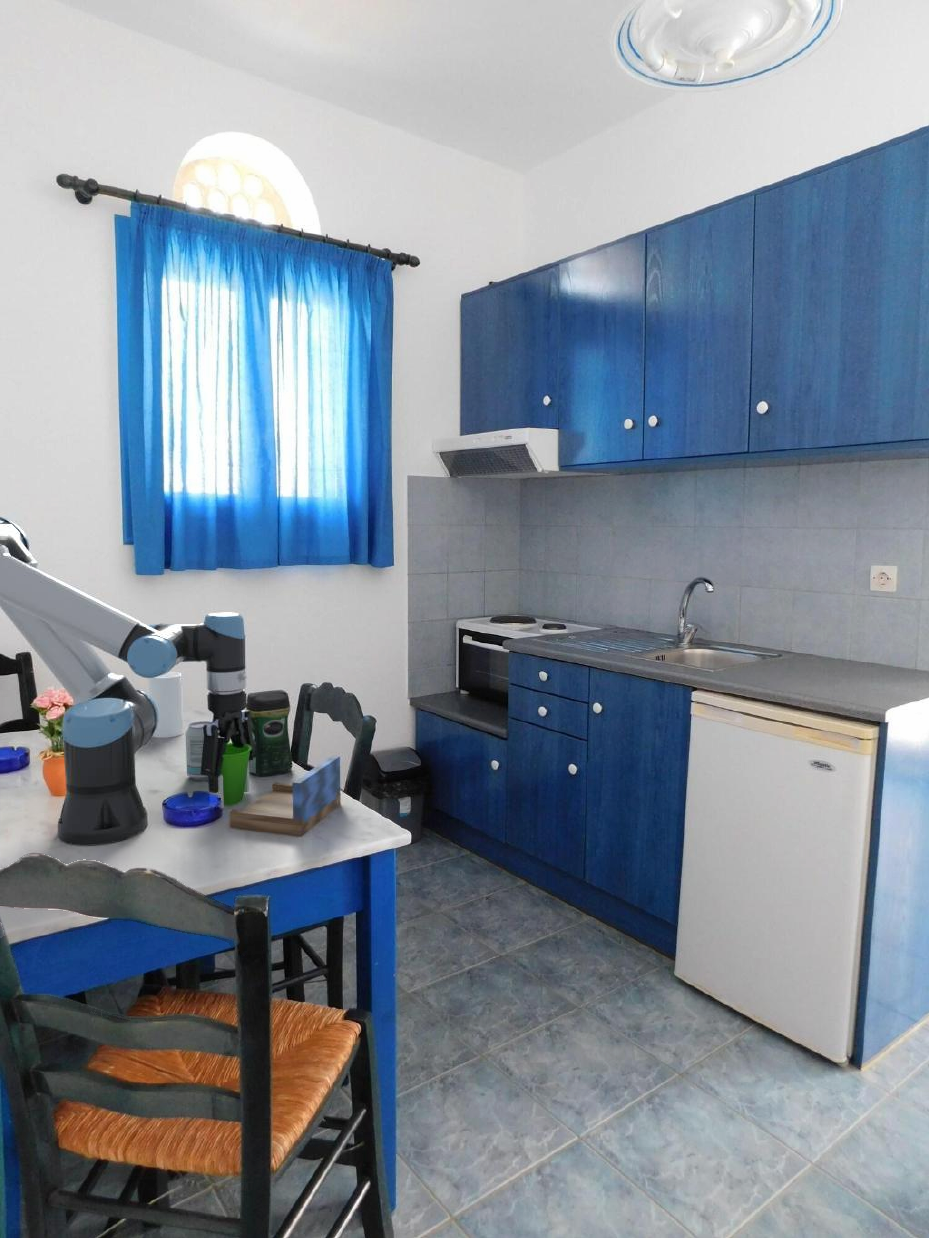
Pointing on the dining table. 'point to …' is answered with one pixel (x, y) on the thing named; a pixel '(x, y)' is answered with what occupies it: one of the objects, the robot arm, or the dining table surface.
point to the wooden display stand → (294, 803)
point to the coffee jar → (269, 732)
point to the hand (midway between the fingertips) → (230, 798)
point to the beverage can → (195, 749)
